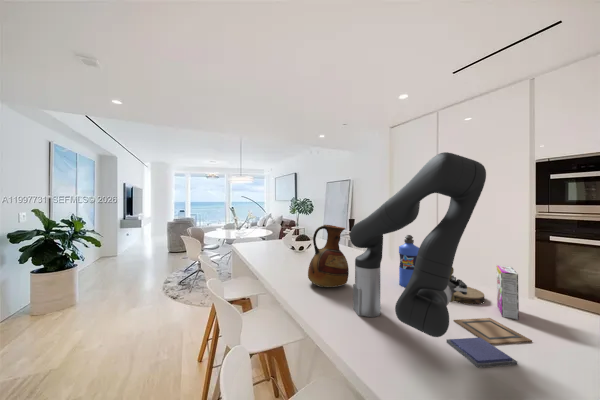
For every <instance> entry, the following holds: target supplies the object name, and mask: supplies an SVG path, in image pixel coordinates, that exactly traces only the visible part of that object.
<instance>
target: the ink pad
mask: <svg viewBox="0 0 600 400" xmlns="http://www.w3.org/2000/svg"><path fill="white" fill-rule="evenodd" d="M446 343H447V344H448V345H449V346H450V347H452V348H453V349H454V350H455V351H456V352H458V353H459V354H460V355H462V356H463V357H464V358H465V359H467V360H468V361H469V362H470V363H471V364H472V365H474V366H475V367H476V368H490V367H492V368H493V367H502V366H516V365H518V360H516V359H514V358H512V356H510V355H508V354H507V353H505V352H503V351H502V350H501V349H499V348H497V347H496V346H494V345H491V344H490V343H488V342H487V341H485V340H484V339H482V338H481V337H479V338H478V337H466V338H449V339H446Z"/></svg>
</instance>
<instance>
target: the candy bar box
mask: <svg viewBox="0 0 600 400" xmlns="http://www.w3.org/2000/svg"><path fill="white" fill-rule="evenodd" d="M496 292H497V293H496V302H497V304H496V306H497V308H498V312H500V315H501V317H503V318H506V319H511V320H516V321H519V319H520V310H519V309H520V308H519V307H520V306H519V303H520V302H519V301H520V300H519V273H517V272H516V270H515V269H514V268H513V266H506V265H496Z"/></svg>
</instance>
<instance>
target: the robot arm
mask: <svg viewBox="0 0 600 400" xmlns="http://www.w3.org/2000/svg"><path fill="white" fill-rule="evenodd" d="M486 179H487V170H486V168H485V166H484V165H483V163H481V162H479V161H477V160H474V159H471V158H468V157H465V156H463V155H460V154H456V153H453V152H439V153H438V154H436V155H434V156H433V157H432V158H431V159H429V160H428V161H427V162H426V163H425V164H424V165H423V166H422V167H421V169H420V170H419V171H417V173H416V174H415V175H414V176H413V177H412V178H411V179H410V180H409V181H408V182H407V183H406V184H405V185H404V186H403V187H402V188H401V189H400V190H398V191H397V192H396V193H395V194H394V195H392V196H391V197H389V198H388V199H387V200H385V202H383V204H382V205H380V206H379V207H378V208H377V209H376V210H374V211H372V213H371V214H369V215H368V216H367V217H365V218H363V219H362V220H360V221H358V222H356V223H355V224H354V225H353V226H352V227H351V230H350V233H349V239H350V242H351V244H352V245H353V246H354V247H356V248H358V249H365V251H364V252H362V253H361V254H359V255H358V256H356V257H355V258H354V259H355V260H354V283H353V284H352V286H353V287H352V292H353V293H352V295H353V297H352V301H353V302H352V303H353V304H352V308H353V311H354V312H355V313H356V314H357V316H362V317H366V318H376V317H379V316H380V315H381V309H382V308H381V266H382V265H381V262H382V261H383V246H384V235H387V234H390V233H394V232H397V231H400V230H402V229H404V228H405V227H407V226H409V225H410V224H412V223H413V222H415V221H416V219H417V218H418V216H419V213H420V208H421V207H420V205H421V201H423V199H425V198H426V197H428V196H430V195H432V194H440V195H443V196H446V197H449V198H450V200H449V205H448V208H447V211H446V213H445V215H444V217H442V219H441V220H440V222H439V223H438V224H437V225H436V226H435V227H434V228H433V229H432V230H431V231H430V232H429V233H428V234H427V235H426V236H425V237H424V239H423V240H422V242H421V244H420V245H419V251H418V255H417V258H416V262H415V266H414V270H413V273H412V276H411V278H410V281H409V283H408V284H407V286H406V288H405V287H404V290H403V291H402V292H401V294H400V296H399V297H398V299H397V301H396V303H395V306H394V307H395V309H394V310H395V315H396V318H397V319H398V321H400V322H401V323H403V324H405V325H407V326H409V327H410V328H413V329H415V330H417V331H419V332H421V333H424V334H425V335H427V336H430V337H433V338H439V337H443V336H444V335H445V334H446V333H447V332H448V329H449V326H450V313H449V309H448V305H449V304H450V303H451V302H450V301H451V297H452V295H453V293H455V292H456V291H459V292H461V293H462V294H464V295H467V287H468V285H467V284H466V283H465V282H464V281H463V280H462V279H457V277H456V276H455V275H454V274H452V275H451V276H452V277H451V278H450V274H451V270H452V267H453V265H454V261H455V256H456V254H457V249H458V248H459V245H460V241H461V239H462V236H463V234H464V232H465V230H466V229H467V226H468V223H469V221H470V220H471V217H472V215H473V212H474V210H475V208H476V206H477V204H478V201H479V199H480V197H481V195H482V193H483V189H484V186H485V184H486ZM456 286H457V287H456Z"/></svg>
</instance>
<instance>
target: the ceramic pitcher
mask: <svg viewBox="0 0 600 400" xmlns="http://www.w3.org/2000/svg"><path fill="white" fill-rule="evenodd" d="M320 230H325V231H326V233H327V238H326V242H325V245H324V246H323V247H322V248H318V246H317V239H316V238H317V234H318V233H319V231H320ZM344 230H346V228H345V227H343V226H341V227H340V226H336V225H333V224H332V225H331V224H327V223H326V224H323V225H321V226H319V227H317V228H316V230H315V231H314V234H313V235H312V236H313V237H312V241H313V247H314V255H313V257H312V258H311V260H310V262H309V265H308V268H307V269H308V270H307V278H308V279H309V281H310V282H311V283H312V284H314V285H315V286H318V287H321V288H335V287H340V286H344V285H346V284H347V282H348V280H349V273H350V271H349V264H348V260H347V258H346V256H345V255H344V253H343V252H342V251H341V249H340V245H339V244H340V242H341V234H342V233H343V232H344Z"/></svg>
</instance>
